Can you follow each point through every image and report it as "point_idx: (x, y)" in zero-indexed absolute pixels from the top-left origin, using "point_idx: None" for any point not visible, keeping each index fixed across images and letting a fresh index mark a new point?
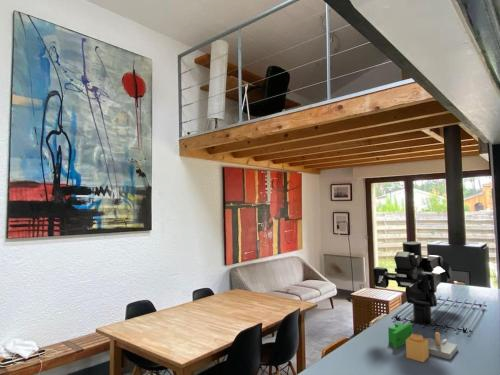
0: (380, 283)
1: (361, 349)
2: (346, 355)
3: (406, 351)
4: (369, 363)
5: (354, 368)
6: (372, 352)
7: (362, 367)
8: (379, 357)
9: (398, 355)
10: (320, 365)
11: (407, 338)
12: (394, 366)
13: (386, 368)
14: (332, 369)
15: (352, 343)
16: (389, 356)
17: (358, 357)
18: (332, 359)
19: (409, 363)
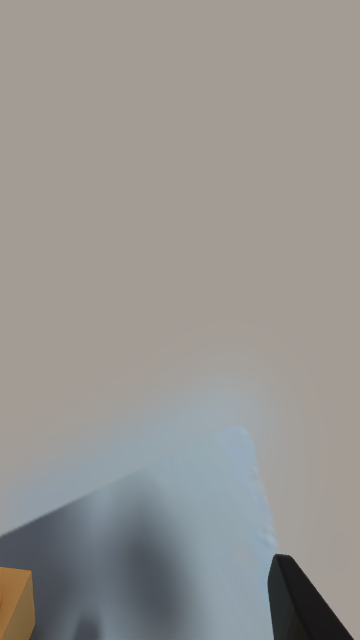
0: (282, 601)
1: (219, 590)
2: (230, 513)
3: (33, 607)
4: (153, 501)
5: (175, 461)
6: (173, 587)
7: (161, 473)
8: (137, 558)
9: (70, 626)
10: (242, 441)
11: (20, 594)
12: (81, 520)
13: (102, 497)
14: (212, 438)
15: None
16: (105, 589)
17: (195, 519)
18: (242, 474)
19: None
